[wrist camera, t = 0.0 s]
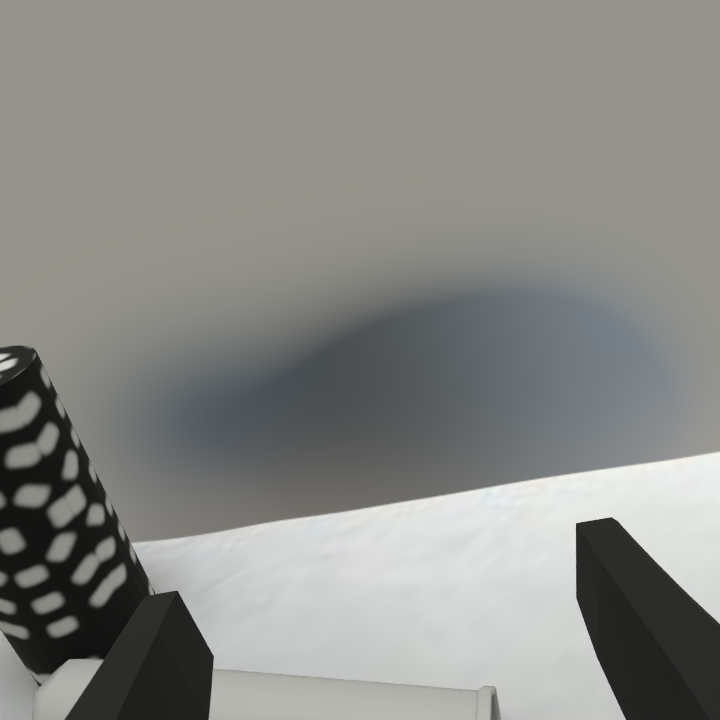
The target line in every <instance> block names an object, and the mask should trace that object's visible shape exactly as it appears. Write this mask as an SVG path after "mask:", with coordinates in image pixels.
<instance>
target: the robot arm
mask: <svg viewBox="0 0 720 720" xmlns="http://www.w3.org/2000/svg"><path fill="white" fill-rule="evenodd" d="M576 598H577V601H578V604H579V607H580V610H581V613H582V616H583V619H584V621H585V624H586V627H587V630H588V633H589V636H590V639H591V641H592V644H593V647H594V650H595V653H596V655H597V658H598V660H599V662H600V665H601V667H602V669H603V671H604V673H605V675H606V678H607V680H608V682H609V684H610V686H611V688H612V691H613V693H614V695H615V697H616V699H617V701H618V703H619V706H620V708H621V710H622V712H623V714H624V716H625V718H626V720H720V624H719V623H718V622H717V621H716V620H715V619H714V618H713V617H712V616H711V615H710V614H708V613H707V612H706V611H705V610H704V609H703V608H702V607H701V606H700V605H699V604H698V603H697V602H696V601H695V600H693V599H692V598H691V597H690V596H689V595H688V594H687V593H686V592H685V591H684V590H683V589H682V588H681V587H680V586H679V585H678V584H677V583H676V582H675V581H674V580H673V579H672V578H671V577H670V576H669V575H668V574H667V573H666V572H665V571H664V570H663V569H662V568H661V567H660V566H659V565H658V564H657V563H656V562H655V561H654V560H653V559H652V558H651V557H650V556H649V554H648V553H647V552H646V551H645V550H644V549H643V548H642V547H641V546H640V545H639V544H638V543H637V542H636V541H635V540H634V539H633V537H632V536H631V535H630V534H629V533H628V532H627V531H626V530H625V529H624V528H623V527H622V526H621V524H620V523H619V522H618V521H616V520H615V519H613V518H612V517H611V518H605V519H599V520H593V521H587V522H581V523H576ZM213 659H214V656H213V654H212V653H211V651H210V649H209V647H208V645H207V643H206V642H205V640H204V638H203V636H202V634H201V633H200V631H199V629H198V627H197V625H196V624H195V622H194V620H193V618H192V616H191V615H190V613H189V611H188V609H187V607H186V605H185V604H184V602H183V600H182V598H181V596H180V595H179V593H178V591H173V592H167V593H161V594H155V595H149V596H145V597H144V599H143V600H142V602H141V603H140V605H139V606H138V608H137V609H136V611H135V612H134V614H133V615H132V617H131V618H130V620H129V621H128V623H127V625H126V626H125V628H124V629H123V631H122V632H121V634H120V636H119V637H118V639H117V640H116V642H115V643H114V645H113V646H112V648H111V650H110V651H109V653H108V654H107V656H106V657H105V659H104V660H103V662H102V664H101V665H100V667H99V668H98V670H97V671H96V673H95V674H94V676H93V677H92V679H91V681H90V682H89V684H88V685H87V687H86V688H85V690H84V691H83V693H82V694H81V696H80V697H79V699H78V700H77V702H76V703H75V705H74V706H73V708H72V709H71V710H70V712H69V713H68V715H67V716H66V718H65V719H64V720H209V712H210V701H211V690H212V675H213Z"/></svg>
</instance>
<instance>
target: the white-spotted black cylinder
mask: <svg viewBox="0 0 720 720" xmlns="http://www.w3.org/2000/svg"><path fill="white" fill-rule="evenodd" d="M149 595H155V592H154V590H153V588H152V586H151V584H150V581H149V579H148V577H147V575H146V573H145V571H144V569H143V567H142V565H141V563H140V561H139V559H138V557H137V555H136V553H135V551H134V549H133V547H132V545H131V543H130V541H129V539H128V537H127V535H126V533H125V531H124V529H123V527H122V525H121V523H120V521H119V519H118V517H117V514H116V513H115V511H114V509H113V506H112V504H111V502H110V501H109V498H108V496H107V494H106V492H105V490H104V488H103V486H102V484H101V482H100V480H99V478H98V476H97V474H96V472H95V470H94V468H93V466H92V464H91V462H90V460H89V458H88V456H87V454H86V452H85V450H84V447H83V446H82V443H81V442H80V439H79V437H78V435H77V433H76V431H75V429H74V427H73V425H72V423H71V421H70V419H69V417H68V415H67V413H66V411H65V409H64V407H63V405H62V403H61V401H60V399H59V397H58V395H57V393H56V391H55V389H54V387H53V385H52V382H51V380H50V378H49V376H48V374H47V372H46V370H45V368H44V366H43V364H42V362H41V360H40V358H39V356H38V354H37V352H36V351H35V350H34V348H31V347H28V346H7V347H1V348H0V629H1V631H2V632H3V634H4V635H5V637H6V638H7V640H8V641H9V643H10V644H11V646H12V647H13V648H14V650H15V651H16V653H17V654H18V656H19V657H20V659H21V660H22V662H23V663H24V665H25V666H26V668H27V669H28V671H29V672H30V673H31V675H32V676H33V678H34V679H35V681H36V682H37V684H38V685H39V686H41V685H42V684H43V683H44V682H45V681H46V680H47V679H48V678H49V677H50V676H51V675H52V674H53V673H54V672H55V671H56V670H57V669H58V668H59V667H60V666H62V665H63V664H64V663H65V662H67V661H68V660H69V659H103V660H104V659H105V657H106V656H107V654H108V653H109V651H110V650H111V648H112V646H113V645H114V643H115V642H116V640H117V639H118V637H119V636H120V634H121V632H122V631H123V629H124V628H125V626H126V625H127V623H128V621H129V620H130V618H131V617H132V615H133V614H134V612H135V611H136V609H137V608H138V606H139V605H140V603H141V602H142V600H143V599H144V597H145V596H149Z"/></svg>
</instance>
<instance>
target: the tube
mask: <svg viewBox="0 0 720 720" xmlns="http://www.w3.org/2000/svg"><path fill="white" fill-rule="evenodd" d="M102 662H103V659H69V660H68V661H67V662H65V663H64V664H63V665H62V666H60V667H59V668H58V669H57V670H56V671H55V672H54V673H53V674H52V675H51V676H50V677H49V678H48V679H47V680H46V681H45V682H44V683H43V684H42V685H41V686H40V687H39V688H38V690H37V691H36V692H35V693H34V698H33V711H32V720H64V719H65V718H66V716H67V715H68V713H69V712H70V710H71V709H72V708H73V706H74V705H75V703H76V702H77V700H78V699H79V697H80V696H81V694H82V693H83V691H84V690H85V688H86V687H87V685H88V684H89V682H90V681H91V679H92V677H93V676H94V674H95V673H96V671H97V670H98V668H99V667H100V665H101V664H102ZM209 720H501V719H500V710H499V704H498V698H497V692H496V688H495V687H494V686H483V687H482V688H480V689H479V690H463V689H451V688H439V687H427V686H415V685H403V684H391V683H379V682H367V681H355V680H343V679H331V678H319V677H307V676H295V675H283V674H271V673H259V672H247V671H235V670H223V669H213V675H212V690H211V701H210V712H209Z"/></svg>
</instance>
